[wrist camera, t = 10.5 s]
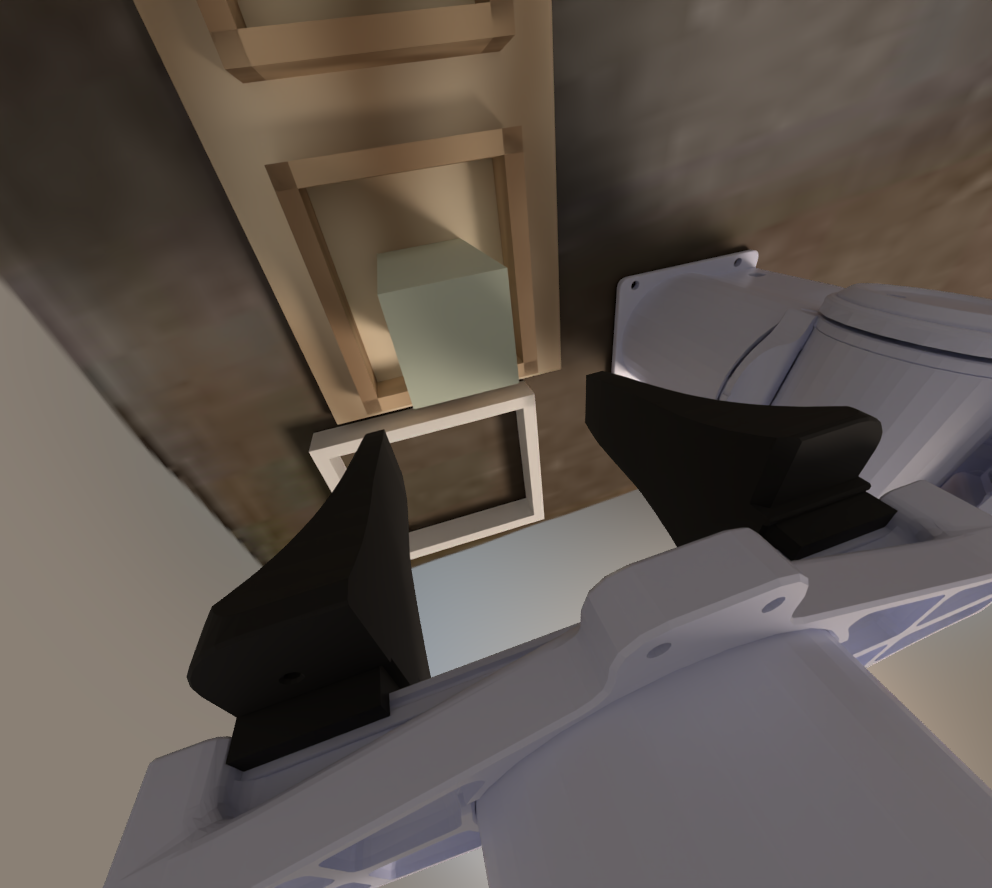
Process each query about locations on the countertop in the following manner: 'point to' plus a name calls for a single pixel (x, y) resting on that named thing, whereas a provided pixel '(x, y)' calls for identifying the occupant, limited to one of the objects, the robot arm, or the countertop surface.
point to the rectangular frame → (439, 417)
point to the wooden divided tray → (376, 158)
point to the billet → (448, 320)
